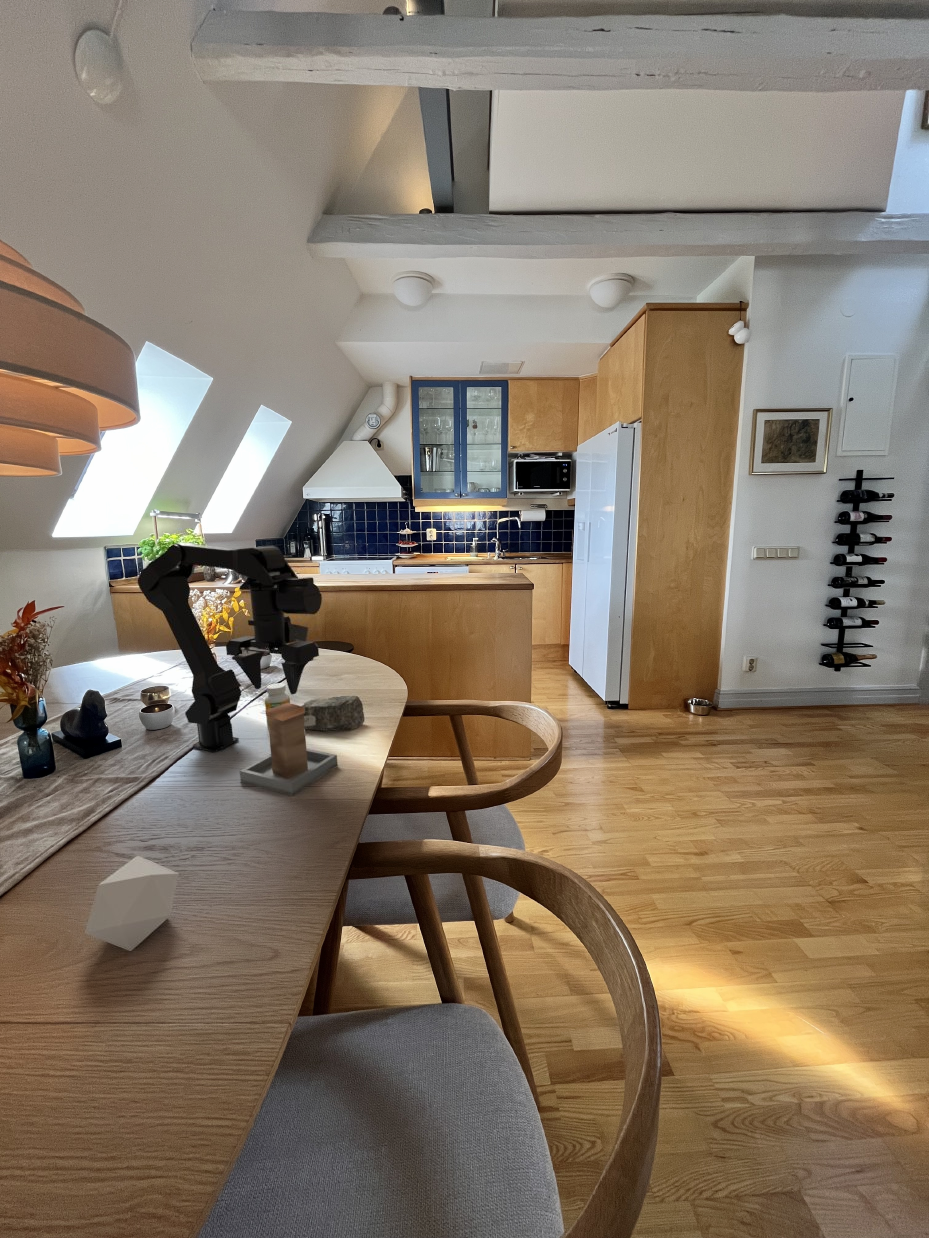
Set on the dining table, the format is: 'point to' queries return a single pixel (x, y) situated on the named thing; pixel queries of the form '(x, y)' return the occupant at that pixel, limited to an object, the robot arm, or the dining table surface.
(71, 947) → the dining table surface
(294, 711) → the brown block
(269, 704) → the supplement bottle
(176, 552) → the robot arm
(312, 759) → the tray
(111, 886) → the die
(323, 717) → the stone
